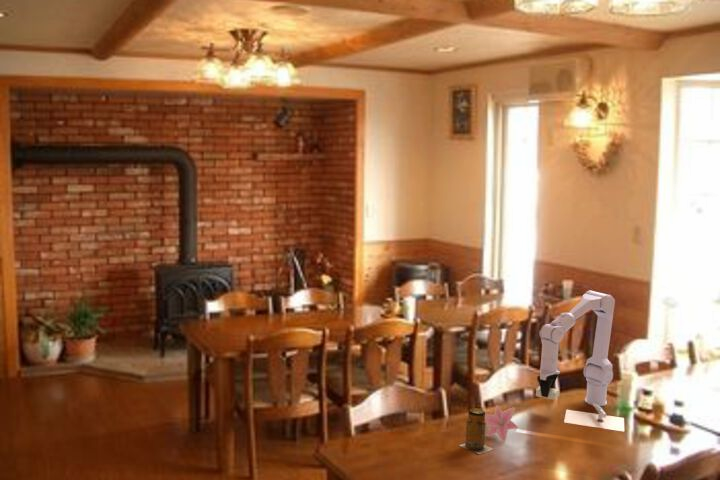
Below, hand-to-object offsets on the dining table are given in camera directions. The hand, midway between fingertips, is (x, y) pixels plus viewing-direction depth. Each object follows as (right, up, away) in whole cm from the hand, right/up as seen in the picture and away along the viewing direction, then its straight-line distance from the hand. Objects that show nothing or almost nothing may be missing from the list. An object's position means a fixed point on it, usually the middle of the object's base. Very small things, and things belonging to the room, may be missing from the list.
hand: (546, 394), depth 265 cm
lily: (-21, -10, -20) cm, 31 cm away
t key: (+18, -8, -3) cm, 20 cm away
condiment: (-30, -11, -31) cm, 45 cm away
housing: (+16, -9, -4) cm, 19 cm away
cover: (0, -1, 0) cm, 1 cm away
